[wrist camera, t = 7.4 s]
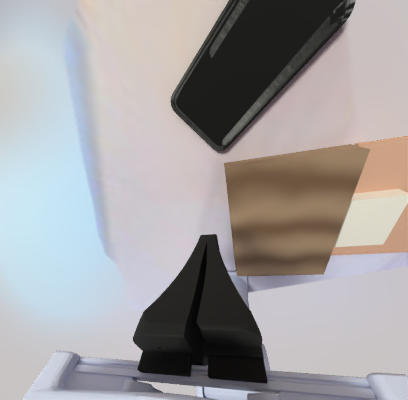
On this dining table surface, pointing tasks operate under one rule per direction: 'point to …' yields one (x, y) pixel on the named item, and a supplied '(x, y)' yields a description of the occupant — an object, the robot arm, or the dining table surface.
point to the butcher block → (290, 208)
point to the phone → (251, 62)
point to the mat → (384, 180)
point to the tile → (371, 217)
